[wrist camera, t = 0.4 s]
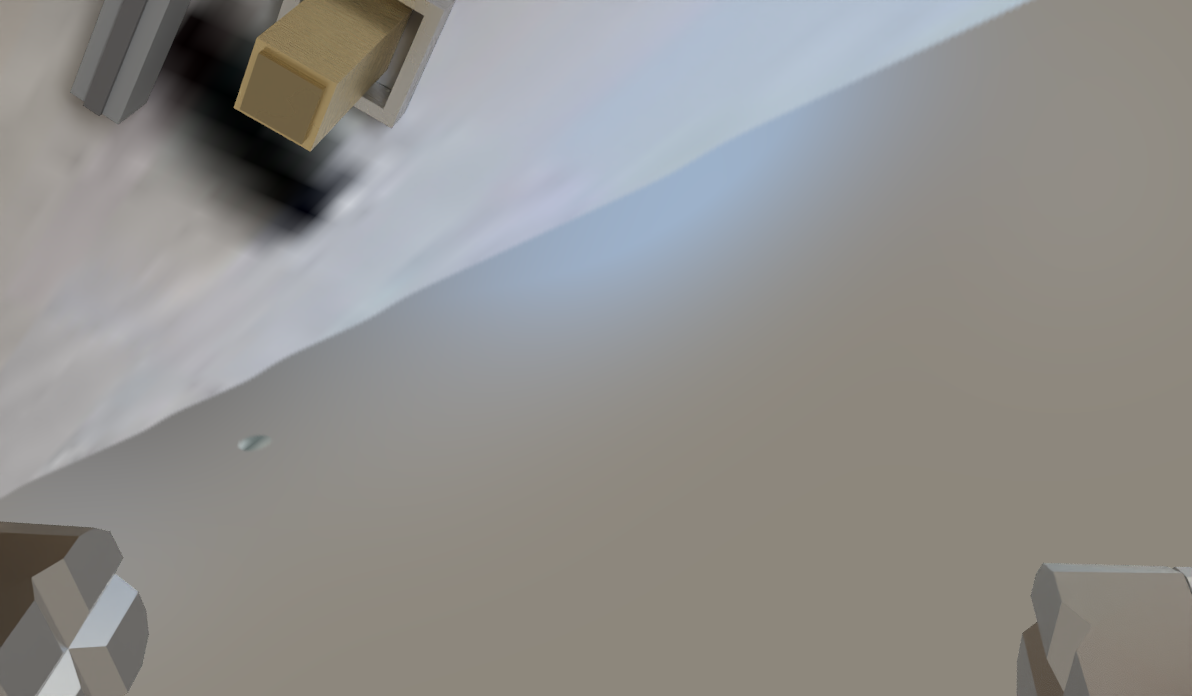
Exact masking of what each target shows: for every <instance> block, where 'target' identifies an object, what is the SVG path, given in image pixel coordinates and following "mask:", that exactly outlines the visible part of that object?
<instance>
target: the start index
mask: <svg viewBox="0 0 1192 696" xmlns="http://www.w3.org/2000/svg"><path fill="white" fill-rule="evenodd" d="M302 1H303V0H283V3H282V6H281V9H280V12H279V15H278V18H277V21H278V20H280V19H281V18H282V17H283V16H285V15H286V14H287V13H288V12H290V11H291V10H292V9H293V8H295V7H296V6H297V5H298V4H300V3H301V2H302ZM398 1H400V2H402V3H403V4H405V5H407V6H409V7H410V8H412V9H414V10H415V11H417V12H419V13H420V14H422V15H424V17H423V20H422V22H421V24H420V27H419V29H418V31H417V33H416V36H415V38H414V40H413V43H412V45H411V47H410V49H409V52H408V54H407V56H406V59H405V61H404V63H403V66H402V68H401V70H400V72H399V75H398V77H397V79H396V82H395V84H394V86H393V88H392V91H391V90H389V89H388V88H386V87H384V86H382V85H381V84H379V83H377V82H375V83H374V84H373V85H372V86H371V87H370V88H369V90H368V91H367V92H366V93H365V94H364V95H363V96H362V97H361V98H360V99H359V100H358V101H357V102H356V103H355V104H354V107H356V108H358V109H359V110H361V111H363V112H365V113H366V114H368V115H370V116H371V117H373V118H375V119H377V120H378V121H380V122H382V123H384V124H385V125H387V126H389V127H390V128H392V127H393V126H394V125H395V124H396V122H397V121H398V120H399V119H400V118H401V116H402V115H403V114H404V113H405V111H406V109H407V106H408V104H409V102H410V100H411V98H412V95H413V93H414V91H415V89H416V86H417V84H418V82H419V80H420V78H421V75H422V73H423V71H424V69H425V67H426V64H427V62H428V60H429V58H430V55H431V53H432V51H433V49H434V47H435V44H436V42H437V40H438V38H439V36H440V33H441V31H442V29H443V27H444V25H445V22H446V20H447V18H448V16H449V13H450V11H451V9H452V7H453V5H454V2H455V0H398ZM277 21H276V22H277Z"/></svg>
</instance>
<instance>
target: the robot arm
mask: <svg viewBox="0 0 1192 696" xmlns="http://www.w3.org/2000/svg"><path fill="white" fill-rule="evenodd" d="M122 559H123V556H122V554H121V552H120V550H119V548H118V546H117V544H116V542H115V540H114V538H113V536H112V534H111V532H110V531H105V530H102V529H97V528H91V527H75V526H59V525H43V524H29V523H12V522H0V696H124V695H125V694H127V693H128V691H129V689H130V688H131V686H132V684H133V682H134V680H135V678H136V676H137V674H138V672H139V671H140V668H141V667H142V664H143V659H144V654H145V649H146V645H147V639H148V635H149V632H148V622H147V613H146V609H145V606H144V604H143V602H142V599H141V597H140V595H139V592H138V591H137V590H136V589H134V588H133V587H132V586H130V585H129V584H128V583H126V582H125V581H124V580H123V579H122V578H120V577H119V576H118V575H116V574H115V573H116V571H117V569H118V567H119V565H120V563H121V561H122ZM1031 599H1032V602H1033V606H1034V610H1035V614H1036V618H1037V622H1036V623H1035V624H1034V625H1032V626H1031V627H1030V628H1028V629H1027V630H1026V631H1024V632H1023V633H1022V638H1021V643H1020V649H1019V654H1018V660H1017V696H1192V567H1174V568H1169V567H1165V566H1129V565H1096V564H1095V565H1094V564H1061V563H1043V564H1042V565H1041V567H1040V569H1039V570H1038V572H1037V573H1036V577H1035V580H1034V584H1033V589H1032V593H1031Z"/></svg>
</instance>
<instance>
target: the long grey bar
mask: <svg viewBox="0 0 1192 696" xmlns="http://www.w3.org/2000/svg"><path fill="white" fill-rule="evenodd" d="M190 1H191V0H105V1H104V3H103V6H102V9H101V11H100V14H99V17H98V19H97V22H96V25H95V27H94V30H93V33H92V35H91V38H90V41H89V43H88V46H87V49H86V51H85V54H84V57H83V60H82V62H81V65H80V68H79V70H78V73H77V76H76V78H75V81H74V84H73V86H72V89H71V92H70V93H72V94H73V95H75V96H76V97H78V98H79V99H81V100H82V101H84V105H83V106H85V107H86V108H88V109H89V110H91V111H92V112H94V113H95V114H97V115H98V116H100V115H101V114H103V115H105V116H106V117H107V118H109V119H110V120H112V121H113V122H115V123H116V124H119V123H121V122H122V121H123V120H125V119H126V118H127V117H129V116H130V115H131V114H132V113H134V112H135V111H136V110H138V109H139V108H140V107H142V106H143V105H144V104H145V103H147V100H148V98H149V96H150V93H151V91H152V89H153V86H154V84H155V82H156V79H157V77H158V75H159V73H160V70H161V68H162V66H163V63H164V61H165V59H166V56H167V54H168V52H169V49H170V47H171V45H172V42H173V40H174V38H175V36H176V33H177V31H178V29H179V26H180V24H181V22H182V19H183V17H184V15H185V12H186V10H187V8H188V6H189V3H190Z"/></svg>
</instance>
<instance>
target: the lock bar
mask: <svg viewBox="0 0 1192 696" xmlns="http://www.w3.org/2000/svg"><path fill="white" fill-rule="evenodd" d="M412 10H413V9H412V8H410V7H409V6H407V5H405V4H403V3H402V2H400V1H398V0H303V1H302V2H301V3H300V4H298V5H297V6H296V7H295V8H293V9H292V10H291V11H290V12H288V13H287V14H286V15H285V16H283V17H282V18H281V19H280V20H278V21H277V22H276V23H275V24H273V25H272V26H271V27H270V28H268V29H267V30H266V31H265V32H263V33H262V34H261V35H260V36H258V37H257V39H256V42H255V45H254V48H253V51H252V54H251V57H250V60H249V63H248V66H247V69H246V72H245V75H244V78H243V81H242V84H241V87H240V90H239V93H238V96H237V99H236V102H235V105H234V108H235V109H237V110H238V111H240V112H242V113H244V114H245V115H247V116H249V117H251V118H252V119H254V120H256V121H258V122H259V123H261V124H263V125H265V126H266V127H268V128H270V129H272V130H273V131H275V132H277V133H279V134H280V135H282V136H284V137H286V138H287V139H289V140H291V141H293V142H294V143H296V144H298V145H300V146H301V147H303V148H305V149H307V150H308V151H311V150H312V149H313V148H314V147H315V146H316V145H317V144H318V143H319V142H320V141H321V140H322V139H323V138H324V136H325V135H326V134H327V133H328V132H329V131H330V130H331V129H332V128H333V127H334V126H335V125H336V124H337V123H338V122H339V120H340V119H341V118H342V117H343V116H344V115H345V114H346V113H347V112H348V111H349V110H350V109H351V108H352V107H353V106H354V104H355V103H356V102H357V101H358V100H359V99H360V98H361V97H362V96H363V95H364V94H365V93H366V92H367V91H368V90H369V88H370V87H371V86H372V85H373V84H374V83H375V82H376V81H377V80H378V79H379V78H380V77H381V76H382V75H383V73H384V72H385V71H386V70H387V69H388V66H389V64H390V62H391V59H392V57H393V55H394V52H395V50H396V48H397V45H398V43H399V41H400V38H401V36H402V34H403V31H404V29H405V27H406V24H407V22H408V20H409V17H410V15H411V12H412Z"/></svg>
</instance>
